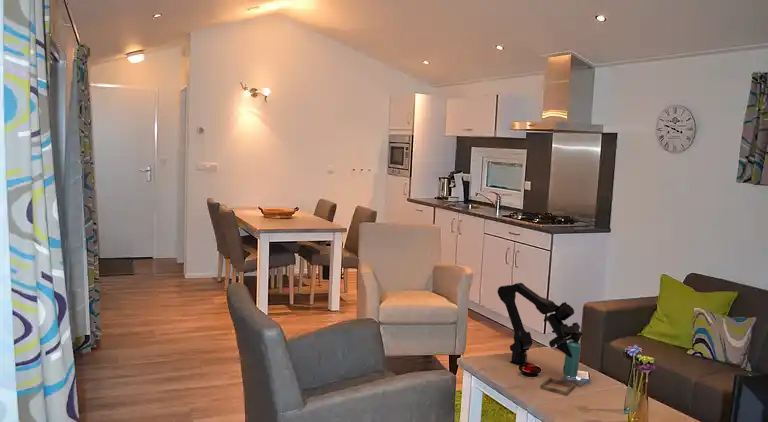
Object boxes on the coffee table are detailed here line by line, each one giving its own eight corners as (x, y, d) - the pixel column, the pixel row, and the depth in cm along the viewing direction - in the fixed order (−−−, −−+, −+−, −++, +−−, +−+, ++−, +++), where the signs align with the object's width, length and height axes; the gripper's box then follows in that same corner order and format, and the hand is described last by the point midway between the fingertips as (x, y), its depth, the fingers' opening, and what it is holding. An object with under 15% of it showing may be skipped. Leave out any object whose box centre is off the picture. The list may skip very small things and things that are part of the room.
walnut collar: (540, 388, 289) (540, 385, 289) (549, 380, 299) (549, 377, 299) (566, 395, 283) (567, 392, 283) (575, 387, 293) (575, 384, 293)
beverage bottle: (579, 380, 295) (586, 337, 293) (566, 380, 293) (573, 336, 291) (571, 375, 301) (577, 333, 300) (558, 375, 299) (565, 332, 298)
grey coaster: (559, 380, 300) (559, 379, 300) (566, 374, 308) (566, 373, 308) (581, 386, 294) (581, 385, 294) (587, 380, 303) (588, 378, 303)
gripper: (557, 319, 291) (575, 351, 284) (581, 314, 303) (599, 344, 296) (541, 331, 298) (558, 362, 291) (565, 325, 310) (583, 355, 303)
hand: (575, 355), depth 295 cm, fingers closed on beverage bottle, 6 cm apart
